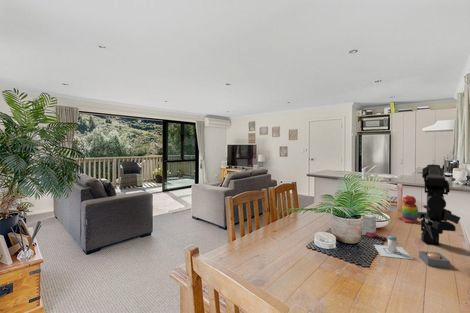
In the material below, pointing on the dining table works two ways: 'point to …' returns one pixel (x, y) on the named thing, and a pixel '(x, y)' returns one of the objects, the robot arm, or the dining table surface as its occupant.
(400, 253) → the paper sheet
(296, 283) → the dining table surface
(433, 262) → the button housing
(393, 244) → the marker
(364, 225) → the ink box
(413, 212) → the stacking bear
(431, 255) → the button
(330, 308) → the dining table surface
